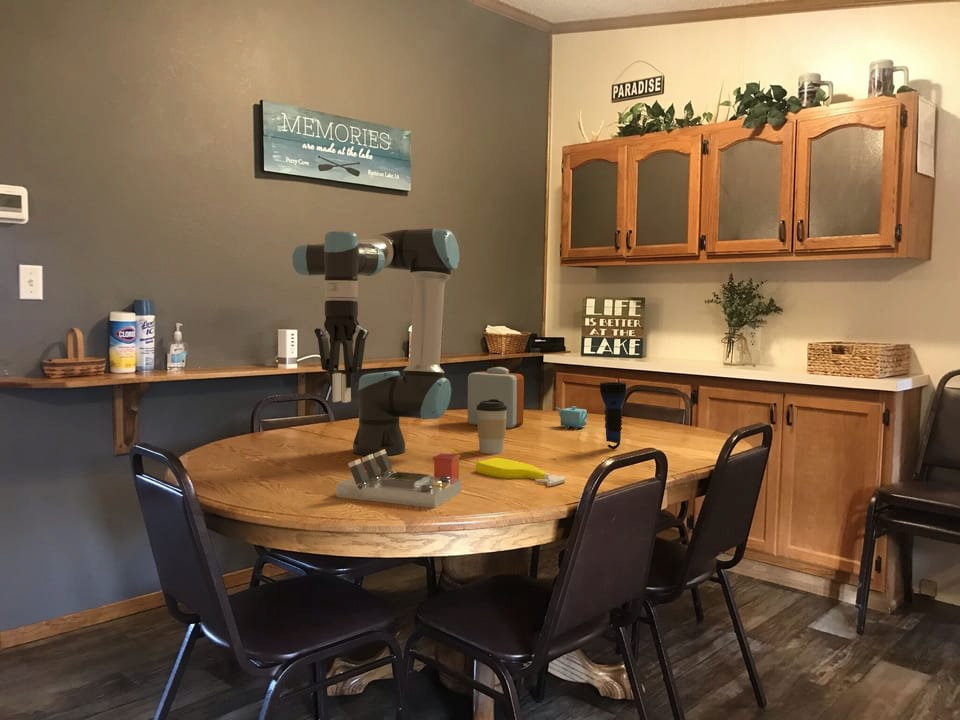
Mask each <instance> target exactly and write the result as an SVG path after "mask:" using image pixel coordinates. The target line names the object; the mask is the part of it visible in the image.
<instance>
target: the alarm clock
mask: <svg viewBox="0 0 960 720" xmlns="http://www.w3.org/2000/svg"><path fill="white" fill-rule="evenodd" d="M524 385H525V377H524V376H523V375H522V374H520V373H512V372H511V373H510V369H508V368H507V367H502V366H497V367H496V366H495V367H490V368H487V370H486V371H476V372H471V373H469V374H468V376H467V423H469V424H470V425H473V426H478V424H477V417H478V416H477V405H479V404H480V402H481V401H488V400H490V399H497V400H499V401H502V402H504V405H506V406H507V411H506V429H513V428H516V427H519V426H522V425H523V423H524V397H525V395H524V394H525V391H524V390H525V388H524V387H525V386H524Z"/></svg>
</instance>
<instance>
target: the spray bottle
mask: <svg viewBox="0 0 960 720" xmlns="http://www.w3.org/2000/svg"><path fill="white" fill-rule="evenodd" d="M475 471H476V473H478V474H482V475H485V476H486V475H487V476H489V477H494V478H500V479H531V480H535V482H539V483H545V484H546V485H547V487H551V486H553V487H554V486H557V485H559V484H563V483H566V475H562V476H561V475H555V474H552V473H548V472H546V471H545V470H542V469H540V468H538V467H536V466H534V465H532V464H529V463H526V462H521V461H516V460H512V459H507V458H502V457H493V458H488V459H484V460H480V461H477V463H476V465H475Z"/></svg>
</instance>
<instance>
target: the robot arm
mask: <svg viewBox="0 0 960 720" xmlns="http://www.w3.org/2000/svg"><path fill="white" fill-rule="evenodd" d="M358 237H359V236H358V235H357V233H356V232H354V231H344V230H341V231H340V230H336V231H335V230H333V231H328V232H326V233H325V235H324V243H319V244H309V243H307V244H299V245H297V246H296V247H295V248H294V250H293V252H292V257H291V259H292V267H293V269H294V271H295V272H296V273H297V274H299V275H301V276H324V297H325V298H326V300H325V301H324V316H325V320H324V323H323V325H322V326H321V327H318V328H314V331H313V332H314V334H315V336H316V338H317V344H318V350H319V356H320V357H319V358H320V366H321V369H322V370H323V371H326V372H328V374H329V387H330V388H332V403H338V402H341V403H342V404H344V403H350V402H352V397H351V395H352V392H351V391H352V388H354V385H355V384H354V383H355V381H354V379H355V378H354V376H355V373H357V372H360V371H361V370H362V368H363V362H364V361H363V359H364V354H365V346H366V339H367V337H368V335H369V334H370V333H369V331H370V330H368V329H367V328H366V329H365V328H363V327H362V326H360V322H359V321H358V316H359V302H358V301H357V300H356V299H357V298H359V283H358V282H359V281H358V277H359V276H365V277H371V276H376V275H378V274H379V273H381V272H382V271H383V269H389V270H390V269H392V270H402V271H409V275H410V277H412V279H413V280H414V288H413V289H414V290H413V291H414V292H413V305H412V319H411V321H412V323H411V333H410V348H409V350H410V352H409V364H408V365H407V366H406V367H405V368H404V369H403V375H402V376H401V373H400V371H399V370H392V371H391V370H390V371H383V372H382V371H381V372H379V371H378V372H371V373H367V374H363V375H361V376H360V378H359V382H358V389H357V390H358V391H357V392H358V426H357V427H358V428H357V430H356V434H355V437H354V440H353V443H352V452H353V454H356V455H360V456H368V455H371V454H373V456H374V453H376V452H379V451H381V450H384V449H385V451H386V454H387V456H394V455H395V456H396V455H400V454H402V453H405V451H406V442H405V438H404V436H403V432H402V429H401V425H400V418H408V419H409V418H410V419H422V420H428V419H429V420H437V419H439V418H441V417H443V416H444V415H445V413H446V411H447V410H448V408H449V404H450V401H451V397H452V387H451V382H450V380H449V379H448V378H446V377H445V371H444V369H443V368H442V367H441V366H440V364H441V348H442V347H441V346H442V334H443V333H442V332H443V319H444V317H443V315H444V301H445V284H446V282H447V281H448V280H450V279H451V274H452V271H455V270H456V269H458V267H459V264H460V249H459V244H458V241H457V238H456V237H455V234H454V233H453V232H452V231H451V230H450V229H448V228H447V229H446V228H436V227H433V228H421V229H420V228H418V229H417V228H416V229H398V230H393V231H389V232H384V233H379V234H374V235H370V236H369V237H368V238H365V239H358ZM354 335H355V336H356V337H355V341H354ZM328 336H329V338H328ZM354 342H355V343H354ZM329 344H330V345H329ZM353 344H354V345H353ZM341 345H342V352H343V365H344V371H343V372H340V371H341V369H340V368H339V367H340V366H339V365H340V351H341ZM374 457H375V456H374Z"/></svg>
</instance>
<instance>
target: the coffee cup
mask: <svg viewBox="0 0 960 720" xmlns="http://www.w3.org/2000/svg"><path fill="white" fill-rule="evenodd" d="M506 411H507V406H506V405H504V402H502V401H499V400H497V399H490V400H488V401H481V402H480V404H479V405H477V416H478V417H477V424H478V425H477V435H478V436H477V437H478V445H479V446H478V447H479V448H478V449H479V452H480V453H482V454H487V455H488V454H489V455H491V454H494V455H495V454H496V455H497V454H502V453H503V452H504V445H505V438H506V429H507V428H506Z"/></svg>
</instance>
